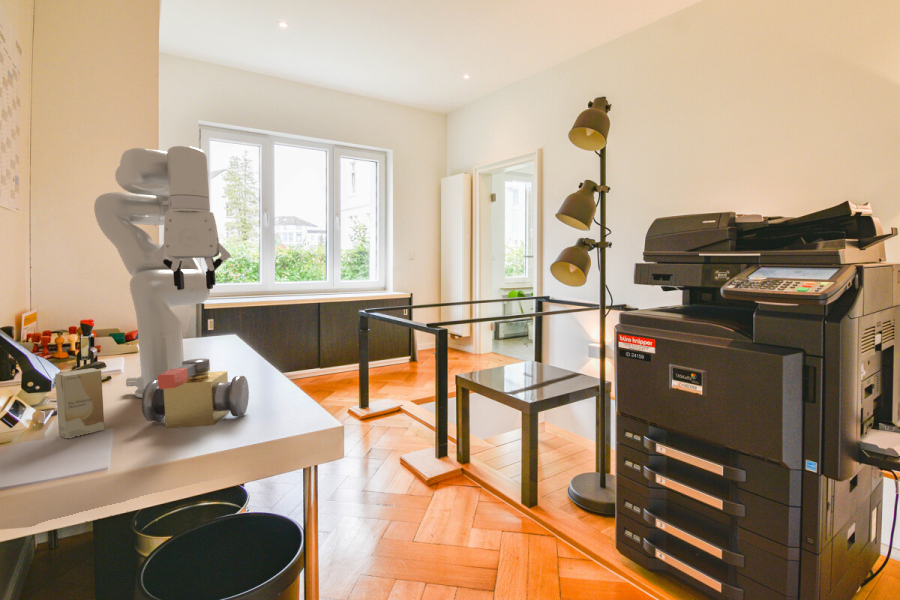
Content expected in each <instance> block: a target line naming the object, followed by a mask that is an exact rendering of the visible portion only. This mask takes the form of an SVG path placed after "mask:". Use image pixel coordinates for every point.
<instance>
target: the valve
mask: <svg viewBox="0 0 900 600" xmlns="http://www.w3.org/2000/svg"><path fill="white" fill-rule="evenodd" d="M228 378H229V377H228V370H224V371H208V372H204V373H199V374H195V375H193V376H192V377H190V378H188V381H187V382H185V383H183V384H181V385H180V386H178V387H176V388H167V389H159V387H158V380H152V381H150V382H149V383H148V384H147V386H146V387H145V389H144V392H143V396H142V398H141V412H142V414H143V417H144V419H145V420H146V421H147V422H160V421H162V420H163V419H164V418H165V428H166V429H172V428H173V429H174V428H187V427H189V428H190V426H191V427H205V426H206V427H207V426H208V427H209V426H214V425H216V424H217V423H218V422H219V421H220V420H222V418H223V417H224V416H225V415H227V414H228V413H227V412H230V414H231V416H232V417H242V416H244V415H245V413H247V408H248V405H249V398H250V397H249V395H250V392H249V391H250V390H249V383H248V379H247V377H246V376H245V375H241V376H240V375H236V376H234V377H232V380H231V381H230V382H229V380H228ZM226 413H227V414H226Z"/></svg>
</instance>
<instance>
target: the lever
mask: <svg viewBox="0 0 900 600" xmlns="http://www.w3.org/2000/svg"><path fill="white" fill-rule="evenodd" d="M210 367H211V366H210V359H209V358H193V359H188V360H184V361H183V362H182V366H181V367H178V368H176V369H170V370H168V371H166V372H164V373H162V374H160V375H158V387H159V389H167V388H176V387H178V386H180V385H181V384H183V383H185V382H187V381H188V378H190V377H192V376H193V375H195V374H199V373H204V372H211V371H210V370H211V368H210Z"/></svg>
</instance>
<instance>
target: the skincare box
mask: <svg viewBox="0 0 900 600" xmlns="http://www.w3.org/2000/svg"><path fill="white" fill-rule="evenodd" d="M54 378H55V391H56V393H55V395H56V409H57V410H56V411H57V422H58V423H57V427H58V435H59V436H60V437H62V438H64V439H66V438H70V437H73V438H76V437H75V436H77V437H80V435H81V436H84V434H85V435H87V434H88V433H89V434H92V433H97V432H100V431H104V430H105V416H104V415H105V414H104V398H103V396H104V395H103V380H102V370H101V369H99V368H98V369H97V368H94V367H91V368H84V369H78V370H77V369H76V370H70V371H64V372H58V373H55V374H54ZM70 439H71V438H70Z"/></svg>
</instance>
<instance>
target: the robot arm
mask: <svg viewBox="0 0 900 600" xmlns="http://www.w3.org/2000/svg"><path fill="white" fill-rule="evenodd" d="M167 149H168V150H167V151H164V150H158V149H152V148H144V147H134V148H130V149H126V150H125V151H124V152H123V154H122V155H121V157H120V162H119V166H117V168H116V170H115V173H114V174H115V175H114V176H115V177H114V178H115V180H116V182H117V184H118V186H119V187H121V188H122V189H123V190H124V191H126V192H122V191H121V192H106V193H103V194H100V195H99V196H98V197H97V198H96V199H95V200H94V207H93V210H94V216H95V218H96V222H97V225H98V226H99V228H100V230H101V232H102V233H103V234H104V236H105V237H106V239H108V240H109V241H110V242H111V244H113V246H114V247H115V249H116V250H117V253H118V254H119V256H120V258H121V260H122V263H123V265H124V267H125V268H126V271H127V272H128V273H129V274H130V276H132V277H131V279H130V282H129V291H130V295H131V299H132V302H133V306H134V309H135V310H134V311H135V316H136V318H135V319H136V324H137V339H138V351H139V352H138V353H139V363H140V364H139V365H140V376H138V377H137V376H136V377H127V379H126V381H125V386H126V387H137V388H136V390H135V391H134V396H135V397H136V398H139V399H140V398H141V399H142V396H143V392H144V389H145V387H146V386H147V384H148V383H149V382H150V381H152V380H158V375H160V374H162V373H164V372H166V371H168V370H170V369H176V368H178V367H181V366H182V362H183V361H185V355H184V338H183V337H184V336H183V326H182V322H181V320H180V318H179V317H178V316H177V315H176V314H175V313H174V312H173V311H172V310H171V307H176V306H177V307H178V306H189V305H190V306H191V305H198V304H202V303H203V302H205V301H207V300H208V298H209V296H210V291H211V290H213V289H214V286H216V270H217V269H218V268H219V267H220V266H221V265H222V264H223V263H225V262H226V261H227V260H229V258H231V256H232V255H231V253H230V252H229V251H228V250H227V249H226V248H225V246H223V245H222V244H221V243H220V242H219V241H220V240H219V234H218V232H219V231H218V228H217V223H216V218H215V215H214V214H215V213H214V212H211V207H210V206H211V205H210V191H209V190H210V189H209V187H210V186H209V170H208V158H207V154H206V153H205V151H203V150H202V149H199V148H197V147H193V146H187V145H176V146H171V147H169V148H167ZM137 225H148V226H150V225H151V226H163V244H158V243H155V242H154V240H153V238H152V237H151V235H150V234H149V233H148V232H147V231H145V230H144V229H142V228H141V227H139V226H137ZM220 254H221V256H220ZM218 256H219V257H218ZM215 257H218V258H216V260H214V258H215ZM198 259H204V262H205V265H206V267H207V268H206V271H205V272H204V270H203V268H202V266H201V265H200V262H199V261H198Z"/></svg>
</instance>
